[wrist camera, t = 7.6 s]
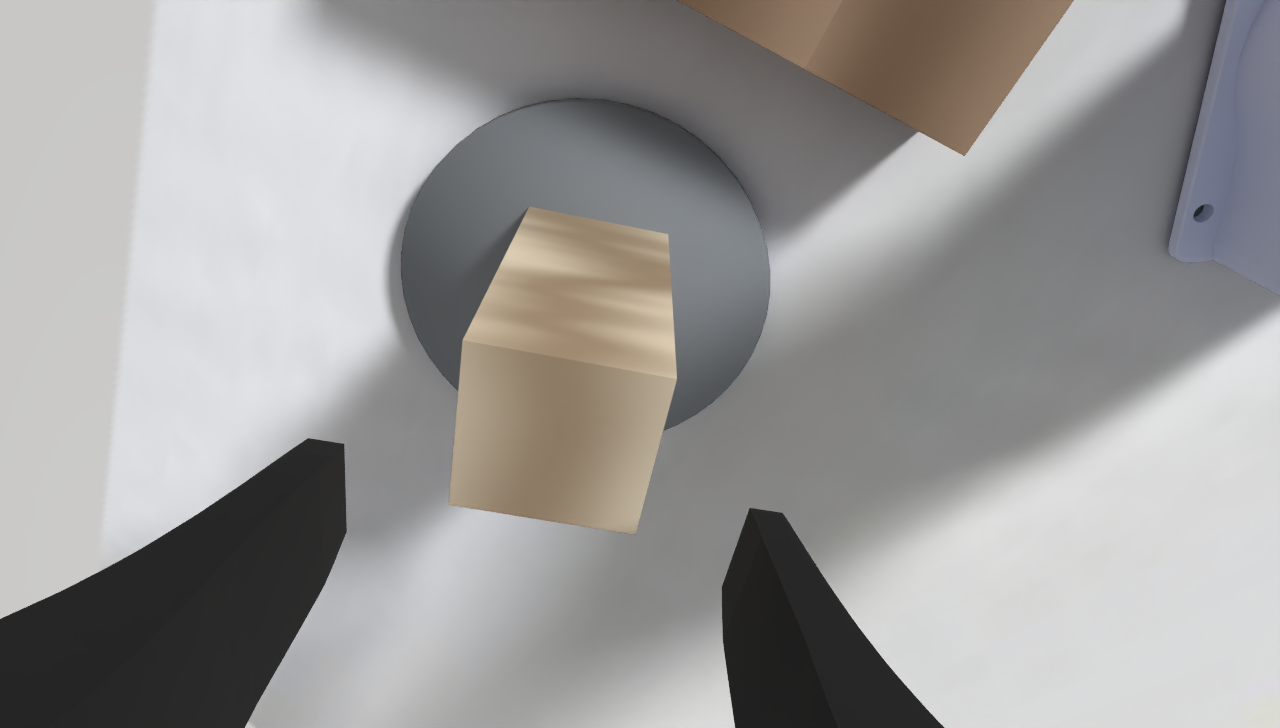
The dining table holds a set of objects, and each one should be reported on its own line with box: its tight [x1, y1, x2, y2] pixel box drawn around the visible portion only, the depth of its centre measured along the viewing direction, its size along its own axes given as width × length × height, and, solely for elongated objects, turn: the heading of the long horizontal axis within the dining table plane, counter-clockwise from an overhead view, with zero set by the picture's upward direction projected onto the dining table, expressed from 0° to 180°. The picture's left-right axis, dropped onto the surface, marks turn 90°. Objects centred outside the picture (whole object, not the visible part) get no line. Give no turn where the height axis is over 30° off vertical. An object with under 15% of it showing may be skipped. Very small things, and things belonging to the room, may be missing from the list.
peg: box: [449, 207, 677, 535], centre depth 17 cm, size 4×4×8 cm
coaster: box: [401, 98, 770, 431], centre depth 21 cm, size 11×11×1 cm
